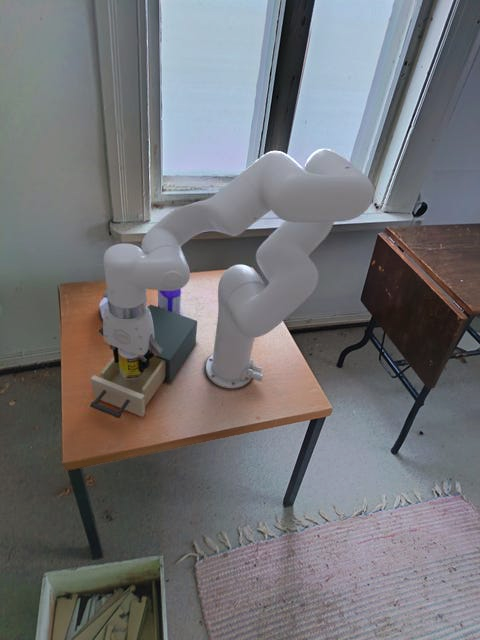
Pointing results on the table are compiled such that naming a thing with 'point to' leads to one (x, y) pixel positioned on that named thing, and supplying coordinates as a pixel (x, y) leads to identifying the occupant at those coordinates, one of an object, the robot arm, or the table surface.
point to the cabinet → (173, 337)
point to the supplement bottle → (129, 364)
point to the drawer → (127, 387)
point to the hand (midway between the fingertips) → (131, 362)
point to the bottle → (170, 300)
